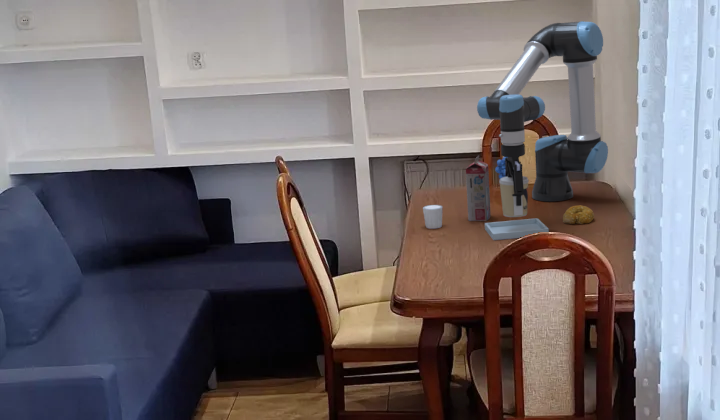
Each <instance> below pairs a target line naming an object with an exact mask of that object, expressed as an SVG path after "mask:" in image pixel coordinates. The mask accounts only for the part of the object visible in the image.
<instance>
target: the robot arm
mask: <svg viewBox="0 0 720 420" xmlns="http://www.w3.org/2000/svg"><path fill="white" fill-rule="evenodd" d="M603 47H604V37H603V32H602V31H601V28H600V27H599V26H598V24H597V23H595V22H593V21H571V22H555V23H551V24H549V25H546V26H544V27H542V28H541V29H540V30H538V31H537V32H536V33H535V34H533V35H532V36H531V37H530V39H529V40H528V41H527V42H526V44H524V46H523V52H522V54H521V55H520V56H519V57H518V59H517V61H515V63H514V64H513V66H512V67H511V68H510V70H509V71H508V72H507V73H506V75H505V76H504V78H503V79H502V80H501V81H500V83H499V84H498V85H497V87H496V88H495V90H493V92H492V94H491V95H490V96H488V95H487V96H483V97H481V98H480V99H479V100H478V101H477V107H476V109H477V110H476V111H477V113H478V116H479V117H480V118H481V119H485V120H493V121H494V120H499V121H500V134H498V137H499V138H500V142H501V145H500V151H501V153H500V154H501V156H502V158H503V157H508V158H505V177H507V176H508V177H512V181H513V184H514V194H512V196H513V200H514V216H517V215H523V203H522V195H524V187H523V176H524V174H523V163H522V162H521V161H520V157H523V156H525V154H526V147H525V145H526V144H525V141H526V139H525V123H526V122H529V121H535V120H537V119H539V118H542V116H543V115H544V114H545V112H546V111H545V110H546V104H545V102H544V100H543V99H542V98H541V97H540V96H537V95H533V96H531V95H529V96H527V97H523V95H522V94H521V92H522V91H523V90H524V89H525V87H526V85H528V83H529V82H530V81H531V79H532V77H533V76H534V74H535V73H536V72H537V70H538V69H539V68H540V67H541V65H543V64H545V63H547V62H548V60H549V59H551V58H553V57H562V63H563V64H564V65H565V66H567V75H568V77H567V78H568V79H567V80H568V89H569V90H568V95H569V110H570V128H571V129H570V130H571V133H570V134H569V135H568V136H567V134H555V135H549V136H545V137H541V138H538V139H537V140H536V141H535V143H534V144H535V145H534V147H535V148H534V153H535V154H534V156H535V177H536V178H535V181H534V184H533V188H532V190H531V198H532V199H533V200H535V201H541V202H561V201H568V200H569V199H570V200H571V199H572V198H574V191H573V187H572V184H571V182H570V178H569V176H568V175H569V174H568V173H569V172H571V173H572V172H573V173H584V174H597V173H599V172H601V171H602V170H603V168H604V167H605V165H606V163H607V160H608V156H609V155H608V154H609V148H608V147H609V146H608V145H607V143H606V141H603V140H602V138H601V136H602V135H601V133H599V132H598V131H597V123H596V104H595V103H596V101H595V85H594V84H595V82H594V79H595V78H594V64H595V63H596V62H597V60H598V56H599V55H601V53H602V51H603Z"/></svg>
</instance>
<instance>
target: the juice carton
mask: <svg viewBox="0 0 720 420" xmlns="http://www.w3.org/2000/svg"><path fill="white" fill-rule="evenodd" d="M489 173H490V172H489V164H488V163H486V162H484V161H482V160H481V159H480V155H477V156H476V158H475V159H474V161H473V162H472V163H470V164H469V165H468V166H467V167H466V168H465V177H466V178H465V179H466V181H465V182H466V199H467V218H468V219H467V220H468V221H469V222H476V221H478V222H488V220H490V218H491V196H490V195H491V193H490V174H489Z"/></svg>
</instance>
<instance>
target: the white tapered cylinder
mask: <svg viewBox="0 0 720 420" xmlns="http://www.w3.org/2000/svg"><path fill="white" fill-rule="evenodd" d="M422 212H423V218H424V219H423V220H424V224H425V228H427V229H434V230H435V229H440V228H441V227H442V226H443V205H440V204H430V205H429V204H428V205H425V206H423V207H422Z"/></svg>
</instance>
